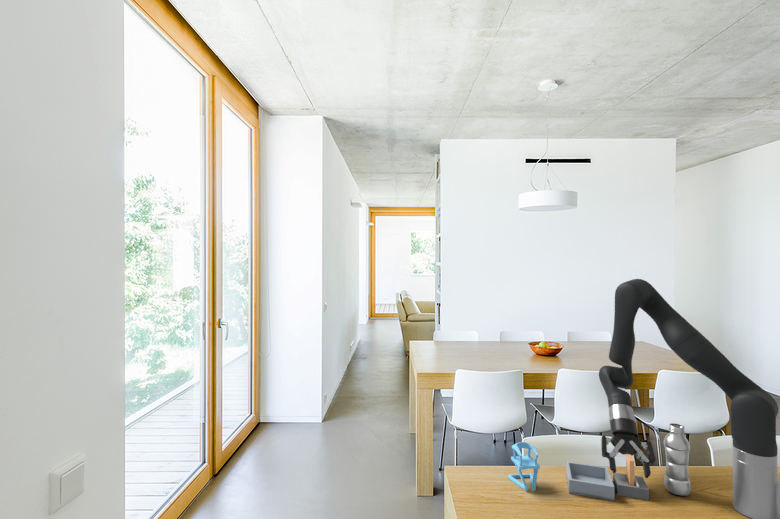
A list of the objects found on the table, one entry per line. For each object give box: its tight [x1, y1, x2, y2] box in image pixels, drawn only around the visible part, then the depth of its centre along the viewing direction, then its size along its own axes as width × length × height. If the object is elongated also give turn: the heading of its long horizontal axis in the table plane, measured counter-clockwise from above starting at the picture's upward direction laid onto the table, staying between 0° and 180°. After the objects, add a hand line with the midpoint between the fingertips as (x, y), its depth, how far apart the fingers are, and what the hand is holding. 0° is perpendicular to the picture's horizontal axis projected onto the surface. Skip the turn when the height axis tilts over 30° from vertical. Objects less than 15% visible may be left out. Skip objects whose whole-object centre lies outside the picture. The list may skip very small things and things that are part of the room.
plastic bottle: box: [663, 422, 692, 497], centre depth 122 cm, size 6×7×20 cm
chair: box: [507, 441, 541, 492], centre depth 126 cm, size 8×8×12 cm
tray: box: [565, 460, 615, 502], centre depth 125 cm, size 12×12×4 cm
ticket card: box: [625, 454, 635, 486], centre depth 123 cm, size 1×4×10 cm, turn 161°
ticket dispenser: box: [612, 472, 650, 501], centre depth 123 cm, size 8×8×4 cm
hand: (630, 474), depth 122 cm, fingers open, 8 cm apart
